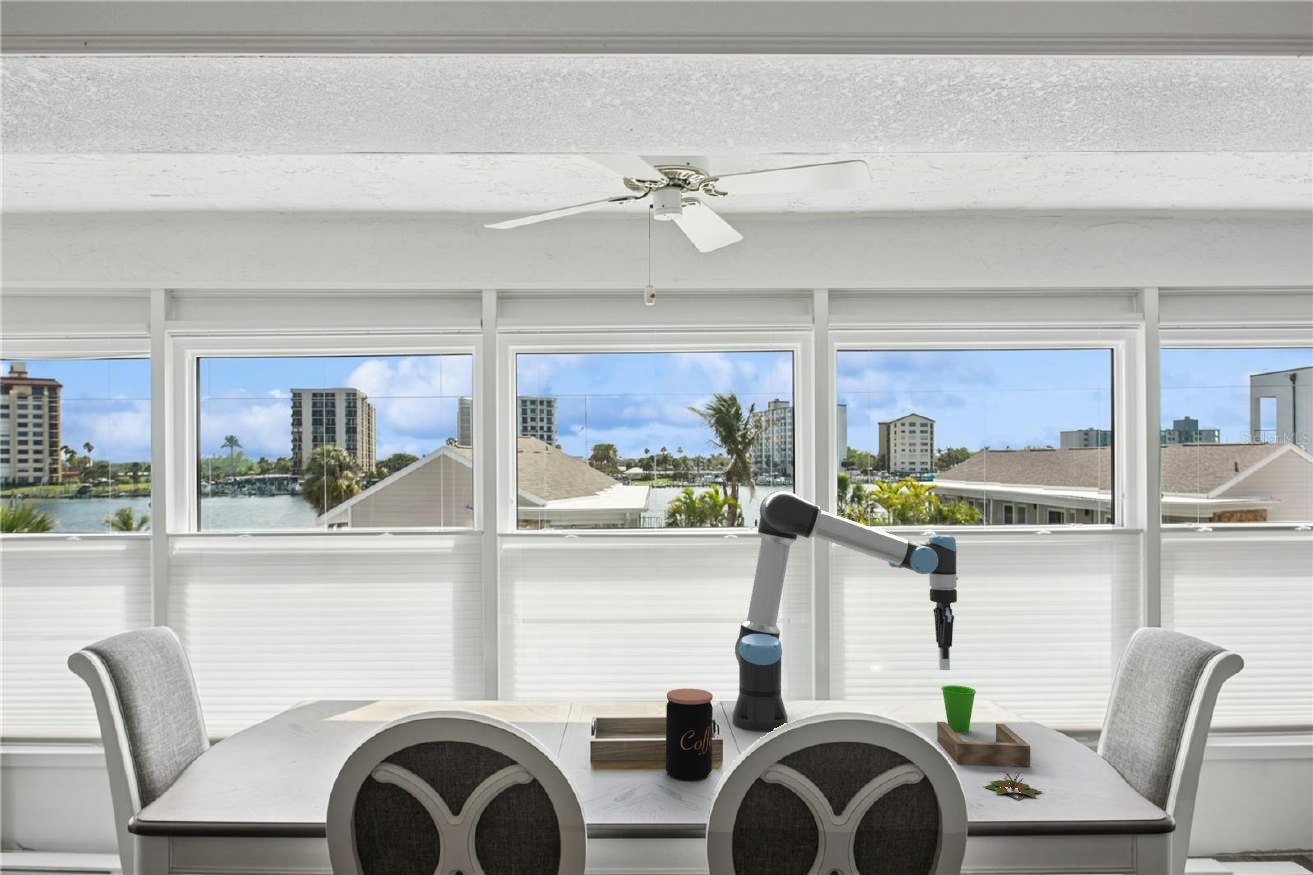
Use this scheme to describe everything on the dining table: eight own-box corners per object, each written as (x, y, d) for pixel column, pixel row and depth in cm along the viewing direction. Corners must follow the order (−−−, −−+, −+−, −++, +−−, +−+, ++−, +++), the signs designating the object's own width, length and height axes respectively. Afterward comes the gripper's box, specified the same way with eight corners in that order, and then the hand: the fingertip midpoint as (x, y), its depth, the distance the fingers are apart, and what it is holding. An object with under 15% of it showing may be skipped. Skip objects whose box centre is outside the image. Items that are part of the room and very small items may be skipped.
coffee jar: (679, 785, 184) (680, 702, 184) (657, 769, 193) (658, 691, 194) (720, 777, 189) (721, 697, 189) (696, 763, 198) (697, 686, 199)
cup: (971, 725, 231) (970, 685, 232) (980, 735, 222) (980, 694, 223) (937, 724, 232) (937, 684, 233) (945, 734, 223) (945, 692, 224)
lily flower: (1054, 796, 182) (1054, 775, 182) (1020, 807, 175) (1020, 785, 175) (1005, 779, 192) (1005, 758, 192) (972, 788, 185) (972, 768, 186)
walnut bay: (957, 764, 199) (957, 743, 200) (937, 741, 217) (937, 721, 218) (1030, 767, 198) (1030, 746, 199) (1003, 743, 216) (1003, 723, 217)
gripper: (962, 591, 237) (964, 675, 236) (949, 585, 250) (951, 664, 249) (936, 591, 238) (937, 674, 237) (924, 585, 251) (925, 664, 250)
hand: (944, 669), depth 243 cm, fingers closed
